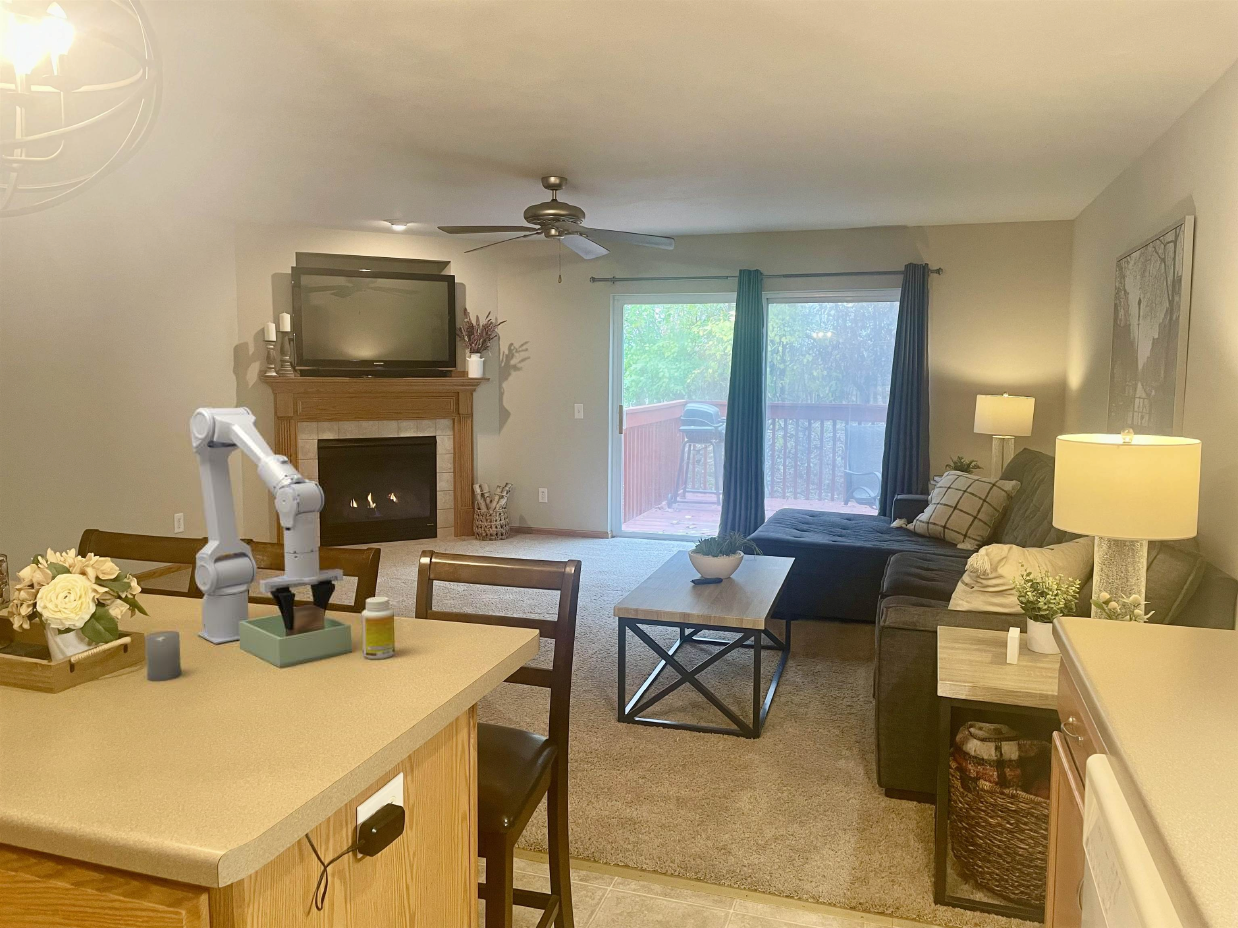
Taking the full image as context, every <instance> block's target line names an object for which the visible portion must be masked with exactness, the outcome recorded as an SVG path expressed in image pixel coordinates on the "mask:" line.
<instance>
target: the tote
mask: <svg viewBox="0 0 1238 928" xmlns="http://www.w3.org/2000/svg"><path fill="white" fill-rule="evenodd" d="M324 621H325V629H324V630H319V631H314V632H309V633H304V634H299V635H294V636H289V637H286V629H285V626H284V621H283V618H282V615H281V613H280V614H274V615H273V614H272V615H267V616H262V617H255V618H249V620H244V621H239V635H240V639H239V649H241V650H243V651H245V652H247V653H249V654H250V655H252V656H255V657H257V658H259V659H261V660H263V661H264V662H267V663H269V664H271V665H272V666H274V667H276V668H278V669H282V667H283V668H287V667H291V665H292V666H295V665H296V664H297V665H300V663H301V664H305V662H306V663H309V662H314V661H319V660H323V659H327V658H333V657H336V656H342V655H345V653H346V654H349V653H350V652H351V653H353V652H352V650H353V649H352V648H353V647H352V624H350V623H347V622H343V621H341V620H339V619H336V618H333V617H330V616H327V615H325V617H324Z"/></svg>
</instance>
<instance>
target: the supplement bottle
mask: <svg viewBox="0 0 1238 928" xmlns="http://www.w3.org/2000/svg"><path fill="white" fill-rule="evenodd" d="M394 612H395V611H394V609H392V608H391V607H390V599H389V597H386V596H375V597H374V596H373V597H369V598H367V599H366V600H365V609H364V610H363V611H362V612H361V645H362V646H361V647H362V648H361V649H362V656H363V657H364V658H365V659H369V660H381V659H382V660H383V659H387V658H390V657H392V656H394V654H395V652H396V651H395V649H396V648H395V641H396V640H395V614H394Z"/></svg>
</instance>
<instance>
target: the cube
mask: <svg viewBox="0 0 1238 928" xmlns="http://www.w3.org/2000/svg"><path fill="white" fill-rule="evenodd" d="M293 614H294V625H293V630H288V629H286V637H289V636H294V635H299V634H304V633H309V632H314V631H319V630H324V629H325V621H324V609H322V608H320V607H317V606H315V605H314V604H307V605H301V606H294V610H293Z"/></svg>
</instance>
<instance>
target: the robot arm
mask: <svg viewBox="0 0 1238 928" xmlns="http://www.w3.org/2000/svg"><path fill="white" fill-rule="evenodd" d="M193 413H194V414H193V415H192V417H191V418H190V421H189V431H190V437H191V438H190V439H191V444H192V451H193V453H194V454H196V456H197V457H196V458H197V464H198V470H199V480H200V486H201V488H200V489H201V496H202V503H203V509H204V518H205V524H206V533H207V534H206V535H207V541H208V542H207V543H206V545H204V546H203V547H202V549H200V550H199V552H197V553H196V555H195V561H196V562H195V563H196V564H195V565H196V566H195V571H194V579H195V583H196V585H197V587H198V588H199V590H201V592H202V594H204V596H203V597H202V601H201V619H202V631H199V632H197V635H198V636H200V637H201V638H203V639H206V640H208V641H209V642H210V643H212V644H216V645H217V644H221V643H222V644H223V643H229V642H232V641H238V640H239V641H240V635H239V621H244V620H250V617H249V595H248V590H250V589H252V584H253V583H254V582H255V580H256V578H257V576H258V575H257V574H258V566H257V563H256V561H255V559H254V556H253V554H252V548H251V546H250V545H248V544H246V543H245V542H244V541H242V540H241V539H239V534H238V527H237V521H236V519H237V518H236V513H235V511H236V510H235V505H234V496H233V488H232V482H231V474H230V465H229V457H231V454H232V453H233V452H234V451H237V450H238V449H240V450H241V451H242V452H243V453H244V454H245V455H246V456H247V457H248V458H249V459H250V460H251V461H252V462H253V463H254V464H255V465H257V470H256V471H257V472H256V473H257V477H258V478H259V480H261V482H262V483H263V484H264V485H265V486H266V488H267V489H268V490H269V491H270V493H272V495H273V496H274V498H275V500H274V506H275V508H276V511H277V513H278V515H279V523H280V525H281V527H283V545H284V546H283V549H284V550H283V552H284V575H281V576H279V575H278V576H276V577H272V578H267V579H262V580H261V579H260V580H259V592H260V593H263V594H266V593H270V596H271V597H272V599H273V600H274V602H275V604H276V605H277V607H278V609H279V610H278V611H279V612H280V614H281V615H282V618H283V621H284V626H285V629H288V630H293V625H294V614H293V610H294V607H295V599H296V593H295V592H292V588H293V589H294V588H300V587H305V586H310V590H311V595H312V600H313V601H312V603H313V605H315V606H317V607H320V608H322V609H324V617H325V616H326V612H327V608H328V606H329V602H330V600H331V597H332V596H333V593H334V592H335V590H336V584H335V583H333V582H336V581H337V582H343V581H344V570H343V569H339V568H335V569H324V570H320V555H319V554H320V553H319V530H318V529H319V524H318V523H319V522H318V521H319V520H318V513H320V512H321V511H322V509H323V507H324V505H325V494H324V491H323V489H322V487H321V486H320V484H319V483H318V482H316V481H314V480H313V481H312V480H309V479H308V478H304V477H303V476H302V475H301V474H300V472H298V470H297V469H296V468H295V466H293V464H292V463H291V462H290V460H289V459H288V457H287V456H285V455H282V454H274V452H273V450H272V449H271V447H270V446H269V445H268V443H267V442H266V441H265V439H264V438H263V436H262V435H261V434H260V432H259V431H258V429H257V428H258V427H257V426H258V425H257V417H256V416H255V415H253V413H252V411H251V410H250V409H249V408H248V407H245V406H241V407H221V408H219V407H217V408H216V407H215V408H212V407H211V408H206V407H199V408H197V409H196V410H195V412H193ZM226 555H228V556H226ZM229 555H230V556H229ZM221 556H225V557H221Z"/></svg>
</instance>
